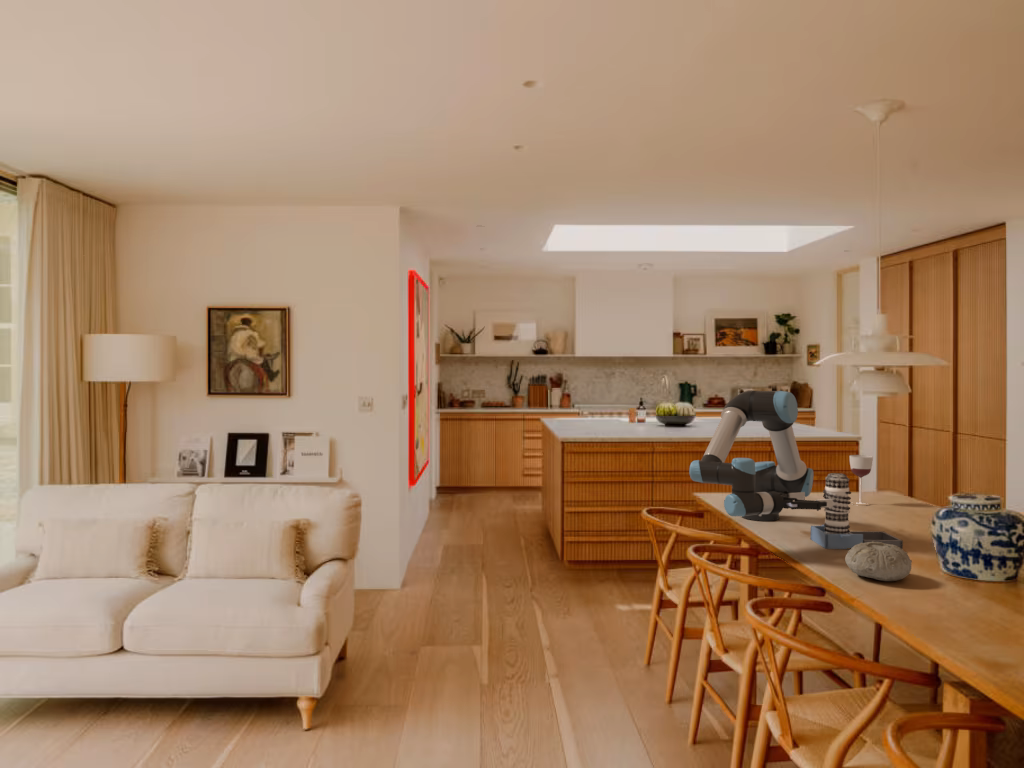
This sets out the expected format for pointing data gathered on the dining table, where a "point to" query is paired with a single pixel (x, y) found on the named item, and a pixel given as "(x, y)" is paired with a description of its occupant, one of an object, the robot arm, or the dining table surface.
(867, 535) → the charcoal holder
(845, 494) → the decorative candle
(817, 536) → the blue tray
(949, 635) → the dining table surface
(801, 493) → the robot arm
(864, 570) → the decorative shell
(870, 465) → the wineglass
